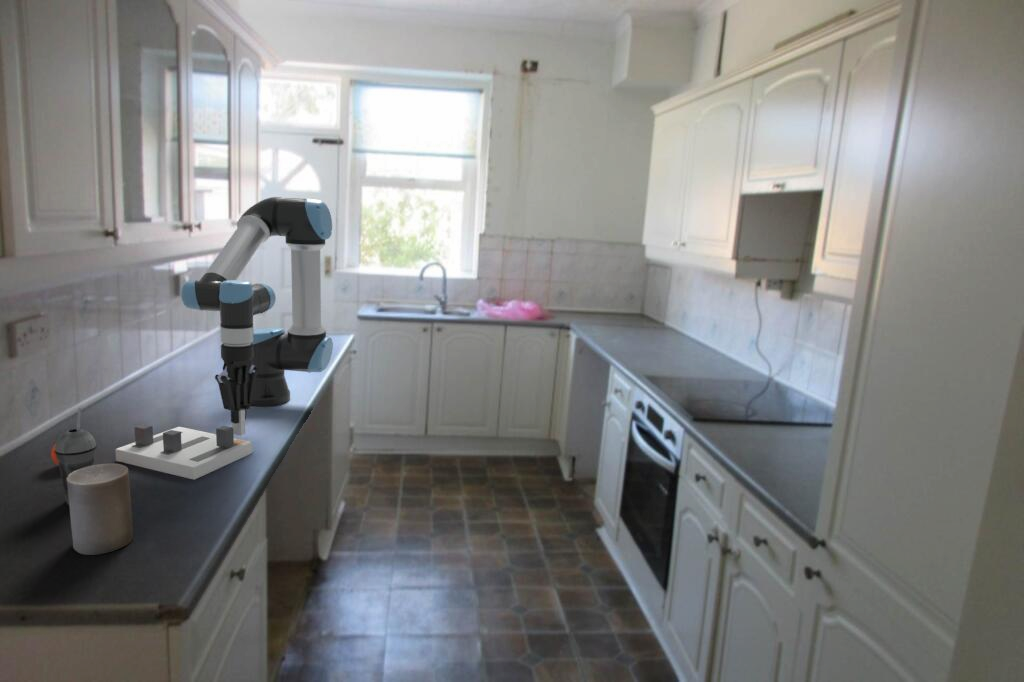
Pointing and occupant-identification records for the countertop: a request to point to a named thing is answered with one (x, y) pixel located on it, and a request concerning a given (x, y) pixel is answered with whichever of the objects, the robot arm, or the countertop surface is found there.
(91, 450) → the beverage cup
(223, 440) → the handle
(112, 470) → the pillar candle
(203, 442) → the breaker panel
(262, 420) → the countertop surface
